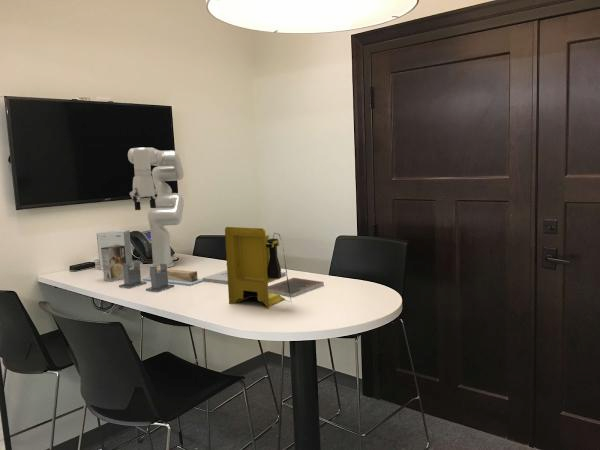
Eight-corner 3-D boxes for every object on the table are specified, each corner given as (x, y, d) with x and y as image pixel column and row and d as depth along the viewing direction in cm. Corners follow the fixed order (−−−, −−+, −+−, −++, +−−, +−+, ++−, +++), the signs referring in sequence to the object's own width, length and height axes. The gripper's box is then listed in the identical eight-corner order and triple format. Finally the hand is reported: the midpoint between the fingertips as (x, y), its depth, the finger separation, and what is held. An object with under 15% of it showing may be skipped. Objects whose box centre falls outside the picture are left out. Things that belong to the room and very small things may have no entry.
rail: (156, 275, 243) (155, 267, 243) (197, 280, 231) (197, 271, 230) (150, 277, 240) (149, 269, 239) (191, 282, 227) (190, 273, 227)
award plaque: (235, 271, 252) (235, 267, 252) (285, 276, 237) (285, 272, 237) (202, 282, 231) (202, 278, 231) (255, 288, 216) (255, 283, 216)
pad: (158, 275, 247) (157, 274, 247) (205, 280, 232) (205, 279, 232) (142, 280, 238) (142, 278, 238) (190, 285, 224) (190, 284, 223)
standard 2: (162, 285, 227) (160, 262, 225) (174, 286, 223) (172, 263, 222) (145, 290, 218) (144, 267, 217) (157, 292, 214) (155, 268, 213)
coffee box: (120, 276, 249) (117, 244, 247) (128, 277, 245) (125, 245, 243) (103, 280, 242) (100, 247, 240) (111, 281, 238) (108, 248, 236)
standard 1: (136, 282, 235) (134, 260, 234) (146, 283, 231) (145, 261, 230) (118, 287, 226) (117, 264, 225) (129, 288, 223) (127, 265, 222)
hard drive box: (133, 266, 273) (130, 230, 271) (127, 269, 266) (124, 232, 263) (106, 266, 275) (103, 230, 273) (99, 269, 267) (96, 232, 265)
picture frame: (292, 299, 199) (323, 287, 215) (292, 292, 198) (323, 281, 215) (261, 293, 209) (293, 282, 226) (261, 287, 208) (293, 277, 225)
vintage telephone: (305, 302, 191) (302, 224, 187) (286, 312, 179) (282, 229, 175) (239, 294, 207) (236, 222, 203) (218, 302, 195) (213, 226, 191)
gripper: (150, 173, 250) (153, 207, 252) (123, 174, 235) (126, 210, 237) (161, 172, 246) (164, 207, 248) (134, 174, 231) (137, 210, 233)
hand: (145, 208), depth 243 cm, fingers open, 9 cm apart
